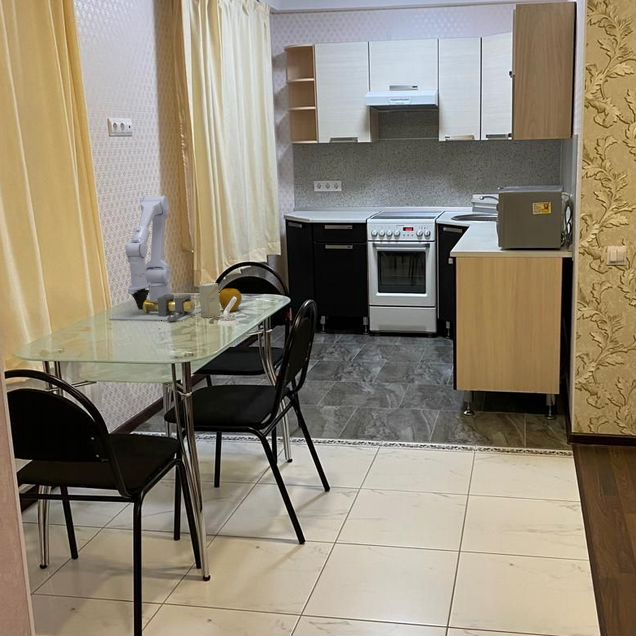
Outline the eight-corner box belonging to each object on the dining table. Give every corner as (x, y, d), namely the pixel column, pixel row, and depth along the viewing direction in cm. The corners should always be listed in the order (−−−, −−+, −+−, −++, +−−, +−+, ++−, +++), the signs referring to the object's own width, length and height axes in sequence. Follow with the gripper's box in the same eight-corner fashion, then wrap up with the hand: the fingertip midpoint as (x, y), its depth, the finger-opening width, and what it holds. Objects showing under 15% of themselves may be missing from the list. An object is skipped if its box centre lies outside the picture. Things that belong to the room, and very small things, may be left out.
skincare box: (209, 318, 305) (206, 285, 303) (200, 317, 308) (198, 285, 305) (221, 315, 310) (218, 283, 307) (212, 314, 313) (210, 282, 310)
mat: (133, 310, 327) (132, 308, 327) (202, 311, 318) (202, 309, 318) (109, 320, 310) (109, 318, 310) (182, 321, 302) (181, 319, 301)
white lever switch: (250, 310, 289) (233, 301, 287) (232, 337, 292) (215, 328, 290) (249, 302, 296) (232, 293, 294) (232, 328, 299) (215, 319, 297)
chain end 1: (176, 308, 324) (175, 290, 322) (183, 308, 323) (182, 290, 321) (158, 316, 310) (157, 298, 308) (166, 316, 309) (164, 298, 307)
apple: (245, 308, 320) (243, 286, 318) (237, 313, 312) (236, 290, 310) (224, 308, 322) (222, 286, 320) (216, 313, 314) (214, 290, 312)
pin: (149, 311, 318) (148, 298, 317) (195, 312, 312) (194, 298, 311) (143, 314, 313) (142, 300, 312) (189, 315, 307) (188, 301, 306)
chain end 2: (184, 312, 315) (183, 294, 313) (191, 312, 314) (190, 294, 312) (166, 320, 301) (165, 302, 299) (174, 321, 300) (172, 302, 299)
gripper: (138, 271, 321) (141, 305, 323) (119, 277, 307) (122, 313, 310) (154, 271, 319) (157, 305, 321) (136, 277, 305) (139, 313, 308)
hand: (141, 309), depth 316 cm, fingers closed, pressing on pin
